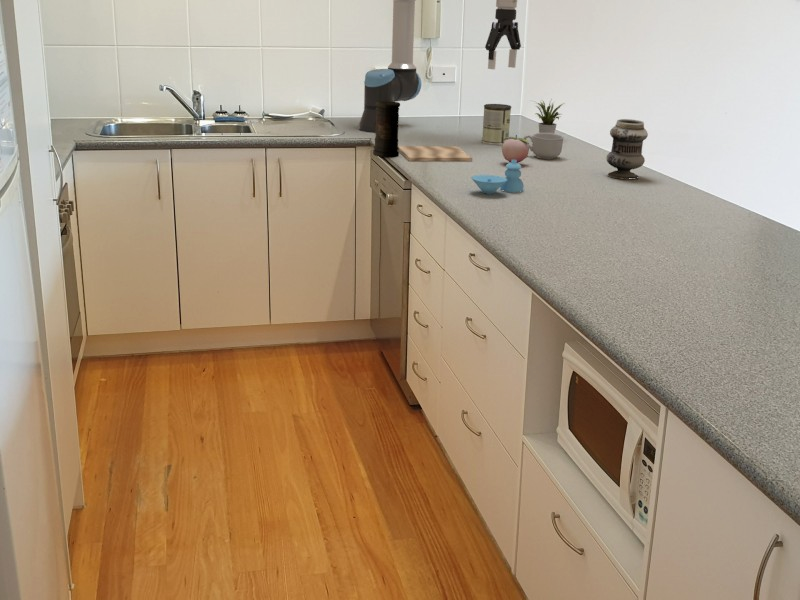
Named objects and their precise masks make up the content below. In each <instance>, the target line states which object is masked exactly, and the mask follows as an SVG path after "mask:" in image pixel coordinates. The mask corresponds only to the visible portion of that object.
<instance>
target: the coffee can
mask: <svg viewBox="0 0 800 600" xmlns="http://www.w3.org/2000/svg"><path fill="white" fill-rule="evenodd" d="M483 107H484V108H483V119H482V120H483V124H482V137H481V138H482V140H481V143H482V144H486V145H492V146H493V145H494V146H503V143H504V142H505V141H506V140H507V139H505V140H503V139H504V138H506V137H510V125H511V122H510V121H511V112H512V106H511V105H509V104H503V103H487V104H484V105H483ZM508 139H509V138H508Z"/></svg>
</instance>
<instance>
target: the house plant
mask: <svg viewBox="0 0 800 600" xmlns="http://www.w3.org/2000/svg"><path fill="white" fill-rule="evenodd" d="M552 100H553V98H551V99H550V101H549V104H548V106H547V107H546V104H545V101H544V100H539V103H538V102H536V101H534V100H530V101H532V102H535V103H536V104H537V105H535V108H537V109H538V110H539V112H540V113H537V112H536V113H535V115H536V116H537V117H538V119H540V120H541V122H538V133H553V134H556V128H557V125H558V124H557V123H555V120H556V119H557V120H559V119H560V118H562V116H561V113H559V112H558V110H559V109H560V108H561V107H562V106H563V105H565V103H566V102H563V103H561V104H560V105H558V106H557V107H556V108H554V103H555V101H554V102H552ZM551 102H552V103H551ZM553 109H554V110H553Z"/></svg>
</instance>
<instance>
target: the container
mask: <svg viewBox="0 0 800 600" xmlns="http://www.w3.org/2000/svg"><path fill="white" fill-rule="evenodd" d="M376 106H377V107H376V109H377V114H376V132H375V135H374V136H375V137H374V146H373V149H374V150H373V151H372V154H373V156H375V157H381V158H396V157H398V156H399V155H400V152H399V151H398V150H399V148H398V146H399V120H400V119H399V118H400V115H399V111H400V106H401V103H400V102H399V101H396V102H391V101H378V102H376Z"/></svg>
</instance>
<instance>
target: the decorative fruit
mask: <svg viewBox="0 0 800 600" xmlns="http://www.w3.org/2000/svg"><path fill="white" fill-rule="evenodd" d="M517 137H518V135H517V134H515V137H513V136H509V137H506V138H504V139H503V140H505V139H507V140H506V141H505V142H504V143H503V145H501V152H502V153H501V154H502V156H503V158H504V159H505V160H506V161H508V163H511V161H512V160H517V162H516V163H518V164H520V163H521V162H523V161H524V160H525V159H527V157H528V155H529V153H530V149H529V146H528V145H530V143H529V141H528V140H527V139H526V140H525V139H524V138H521V137H519V138H517ZM508 138H509V139H508Z"/></svg>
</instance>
